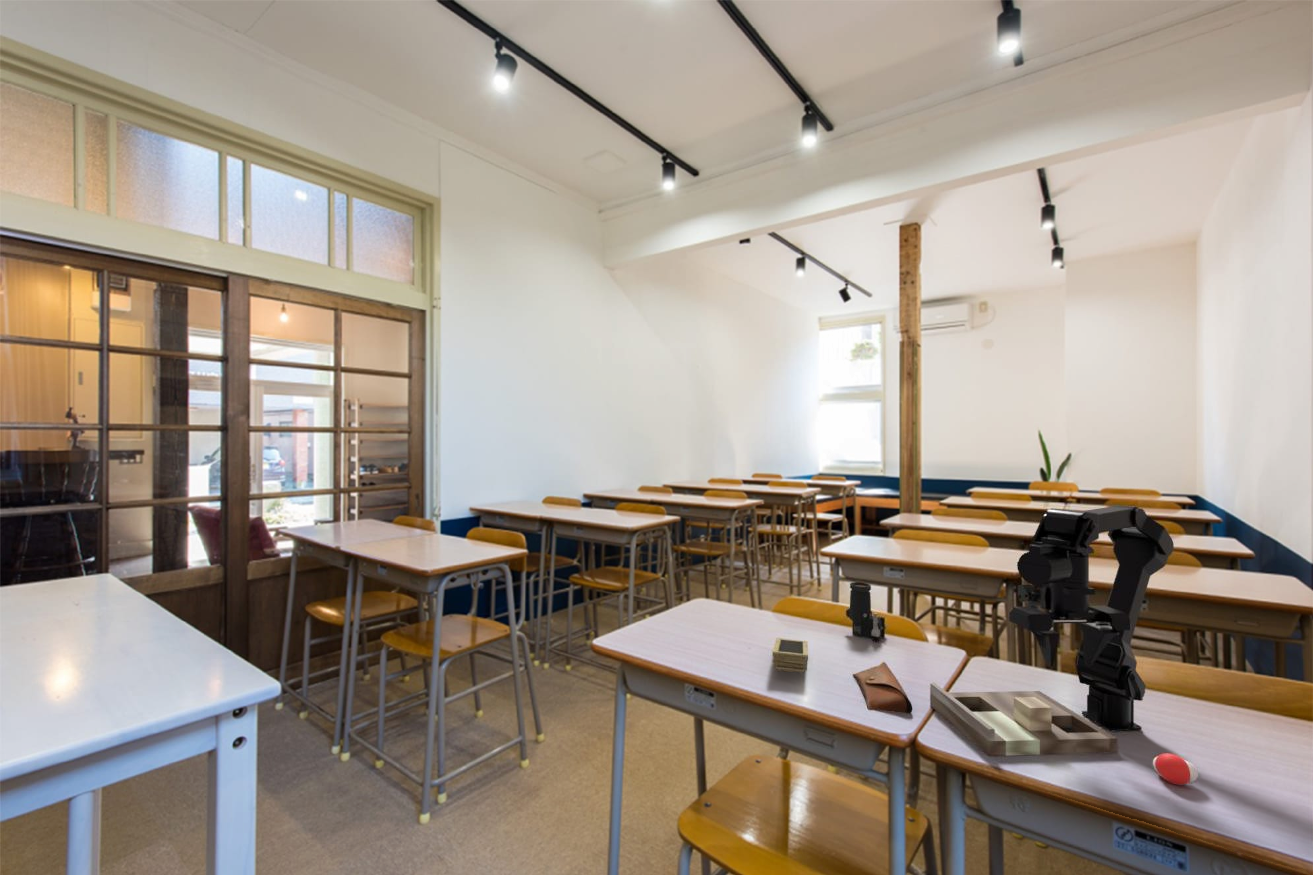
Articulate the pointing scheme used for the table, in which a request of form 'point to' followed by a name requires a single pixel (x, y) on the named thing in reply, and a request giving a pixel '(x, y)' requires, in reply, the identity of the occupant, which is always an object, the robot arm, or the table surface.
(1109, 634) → the robot arm
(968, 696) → the trap box
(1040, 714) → the block
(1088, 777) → the table surface
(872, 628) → the scope
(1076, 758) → the table surface
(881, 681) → the sunglasses case
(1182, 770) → the molecule
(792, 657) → the box
